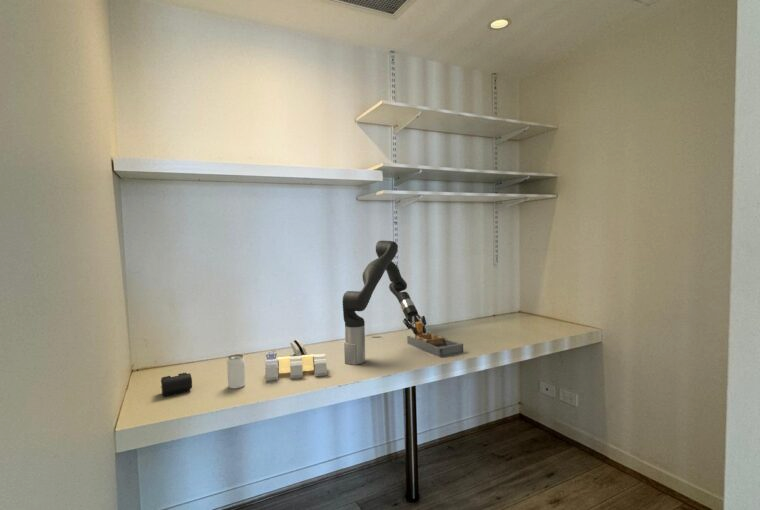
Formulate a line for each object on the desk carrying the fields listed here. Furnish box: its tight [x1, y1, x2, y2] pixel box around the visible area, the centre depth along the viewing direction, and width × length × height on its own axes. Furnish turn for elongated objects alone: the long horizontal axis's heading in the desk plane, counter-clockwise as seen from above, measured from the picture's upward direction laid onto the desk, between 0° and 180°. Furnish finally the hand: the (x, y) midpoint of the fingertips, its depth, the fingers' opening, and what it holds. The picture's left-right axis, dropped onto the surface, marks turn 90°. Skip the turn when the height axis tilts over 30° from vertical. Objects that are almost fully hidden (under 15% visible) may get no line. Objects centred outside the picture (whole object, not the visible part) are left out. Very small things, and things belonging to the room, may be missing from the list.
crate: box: [414, 321, 445, 346], centre depth 210 cm, size 17×10×10 cm, turn 28°
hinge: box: [289, 338, 309, 356], centre depth 192 cm, size 17×5×10 cm, turn 25°
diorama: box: [264, 348, 328, 382], centre depth 168 cm, size 25×10×13 cm, turn 103°
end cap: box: [160, 372, 193, 397], centre depth 151 cm, size 10×7×7 cm
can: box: [226, 354, 246, 390], centre depth 156 cm, size 6×6×12 cm
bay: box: [406, 332, 464, 358], centre depth 204 cm, size 30×14×4 cm, turn 28°
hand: (420, 333), depth 215 cm, fingers open, 5 cm apart
